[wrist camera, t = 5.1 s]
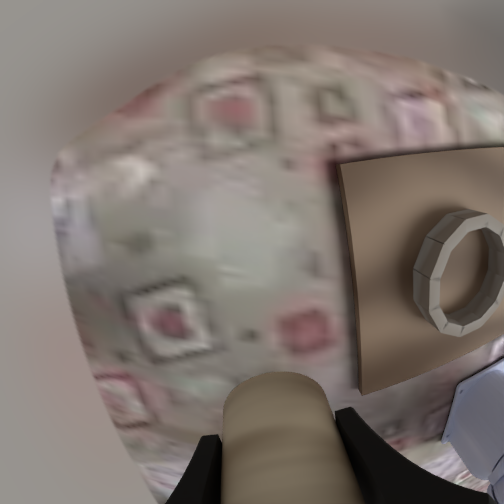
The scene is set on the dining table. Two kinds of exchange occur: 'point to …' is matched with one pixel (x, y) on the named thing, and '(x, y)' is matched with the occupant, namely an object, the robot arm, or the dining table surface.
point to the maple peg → (283, 445)
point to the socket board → (394, 246)
